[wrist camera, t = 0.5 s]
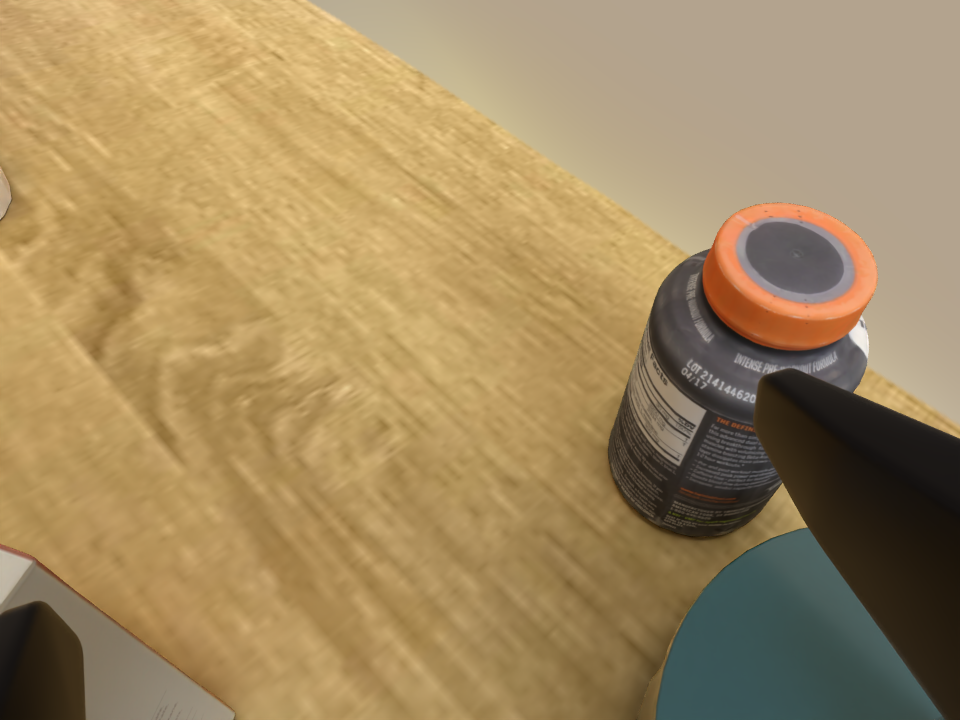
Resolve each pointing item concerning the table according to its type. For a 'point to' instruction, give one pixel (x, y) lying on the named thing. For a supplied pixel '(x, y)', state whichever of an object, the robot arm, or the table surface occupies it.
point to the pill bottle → (736, 362)
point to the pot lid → (784, 646)
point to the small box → (109, 653)
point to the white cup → (4, 194)
